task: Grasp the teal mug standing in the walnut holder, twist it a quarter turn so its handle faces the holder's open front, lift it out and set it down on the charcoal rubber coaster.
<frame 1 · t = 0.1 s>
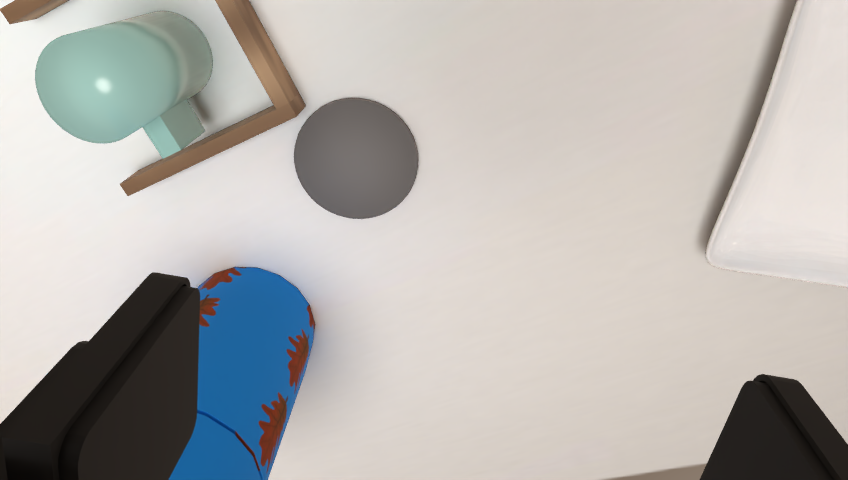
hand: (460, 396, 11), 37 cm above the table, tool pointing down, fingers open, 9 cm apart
teal mug: (169, 56, 46), on the table
holder: (169, 56, 46), on the table
coaster: (356, 159, 49), on the table
thermos: (253, 321, 55), on the table
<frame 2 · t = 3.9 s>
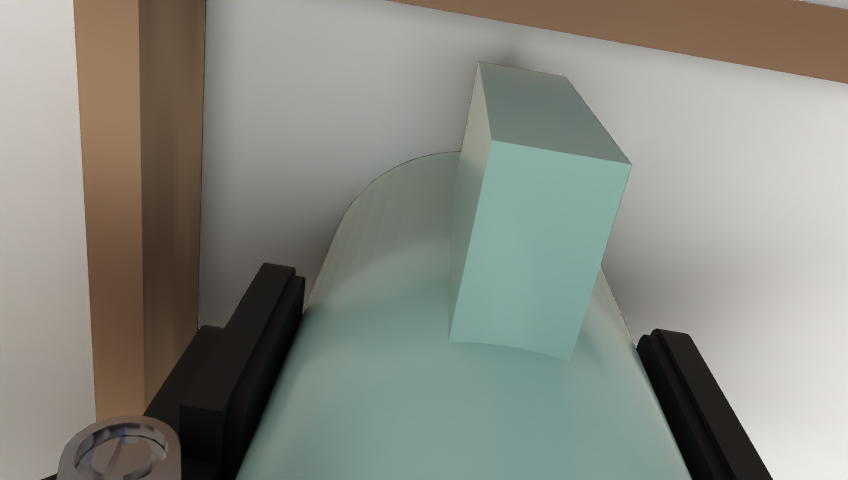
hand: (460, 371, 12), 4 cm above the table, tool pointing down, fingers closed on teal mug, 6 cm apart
teal mug: (459, 277, 15), on the table, touching gripper
holder: (459, 278, 15), on the table
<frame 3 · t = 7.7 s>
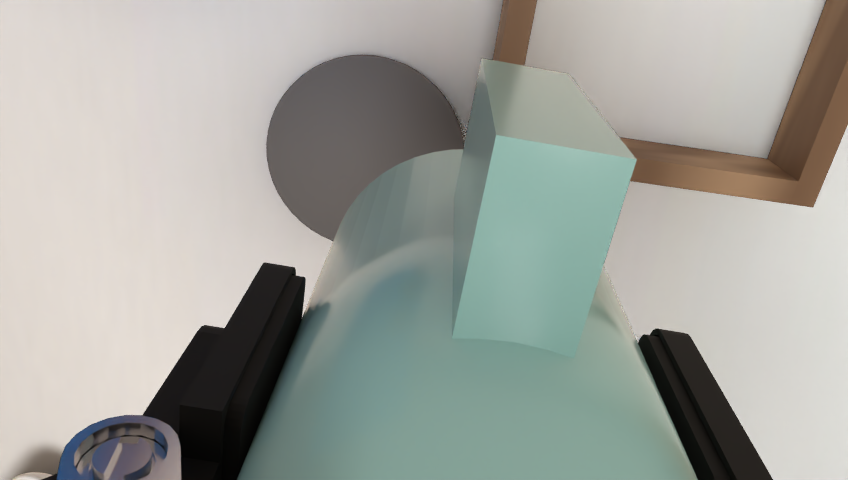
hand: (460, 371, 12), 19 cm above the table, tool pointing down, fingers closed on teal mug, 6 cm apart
teal mug: (461, 275, 15), point 16 cm above the table, touching gripper
coaster: (366, 154, 31), on the table
when the fingers open (5 cm above the table, at t = 11.6 s): teal mug drops 1 cm, resting on coaster.
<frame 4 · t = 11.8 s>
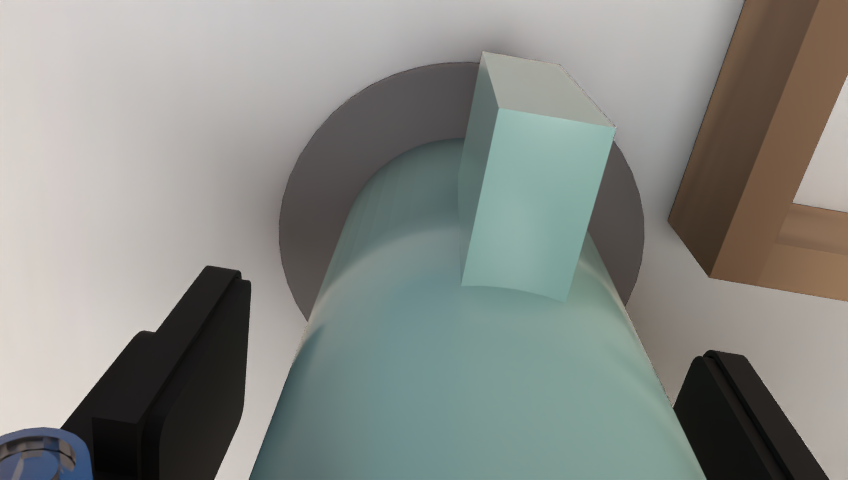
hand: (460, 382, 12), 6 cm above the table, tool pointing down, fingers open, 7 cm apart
teal mug: (462, 255, 16), point 1 cm above the table, touching coaster
coaster: (458, 241, 17), on the table
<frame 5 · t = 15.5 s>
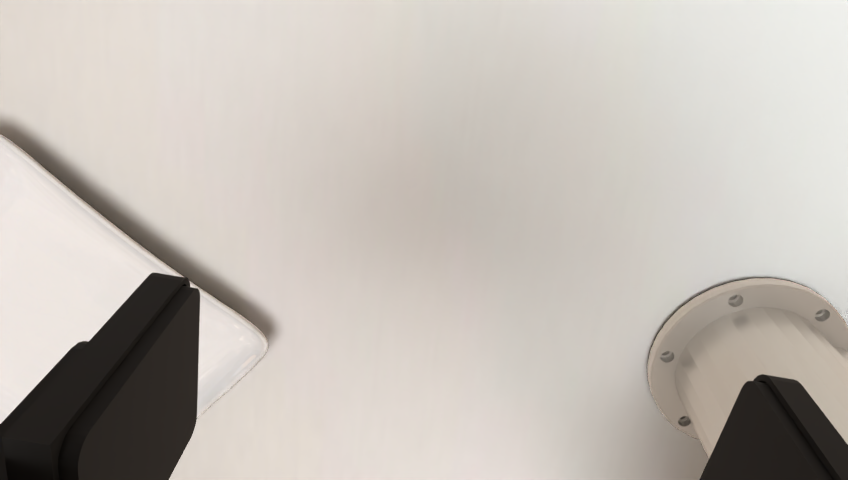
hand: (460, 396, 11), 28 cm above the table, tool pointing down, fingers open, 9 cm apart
salad plate: (73, 319, 46), on the table
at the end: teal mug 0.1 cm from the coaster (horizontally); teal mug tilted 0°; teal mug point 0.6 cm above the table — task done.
